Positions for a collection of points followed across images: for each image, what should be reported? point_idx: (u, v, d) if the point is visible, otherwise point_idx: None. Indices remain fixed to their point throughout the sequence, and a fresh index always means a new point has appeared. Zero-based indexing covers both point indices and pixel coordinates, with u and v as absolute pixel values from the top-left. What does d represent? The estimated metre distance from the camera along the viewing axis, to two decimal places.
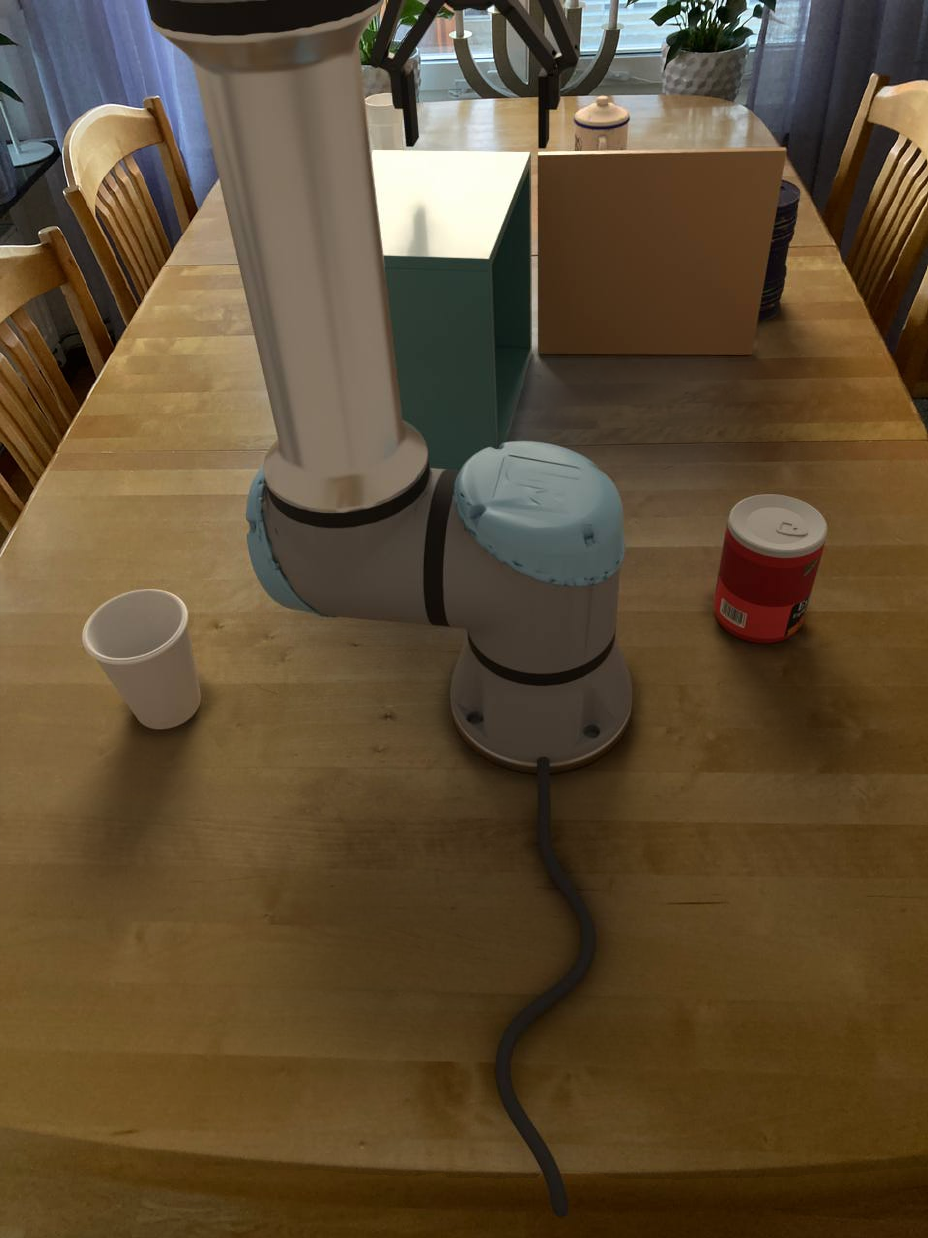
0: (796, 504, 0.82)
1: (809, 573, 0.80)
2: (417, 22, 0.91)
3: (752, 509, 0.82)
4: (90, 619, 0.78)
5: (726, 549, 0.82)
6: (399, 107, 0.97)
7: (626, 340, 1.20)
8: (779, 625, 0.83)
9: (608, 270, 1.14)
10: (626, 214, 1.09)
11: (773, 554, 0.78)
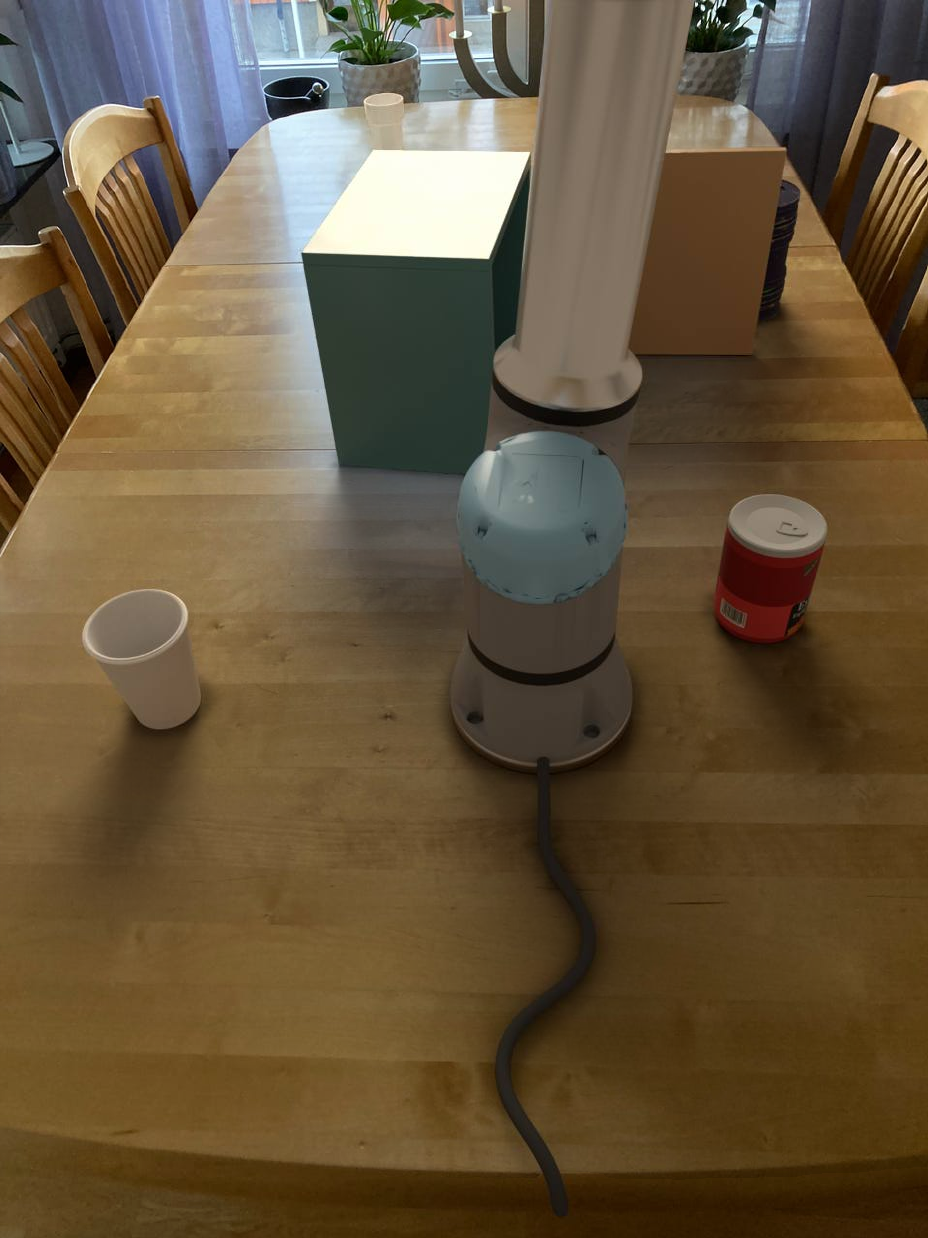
0: (796, 504, 0.82)
1: (809, 573, 0.80)
2: None
3: (752, 509, 0.82)
4: (90, 619, 0.78)
5: (726, 549, 0.82)
6: None
7: None
8: (779, 625, 0.83)
9: None
10: None
11: (773, 554, 0.78)
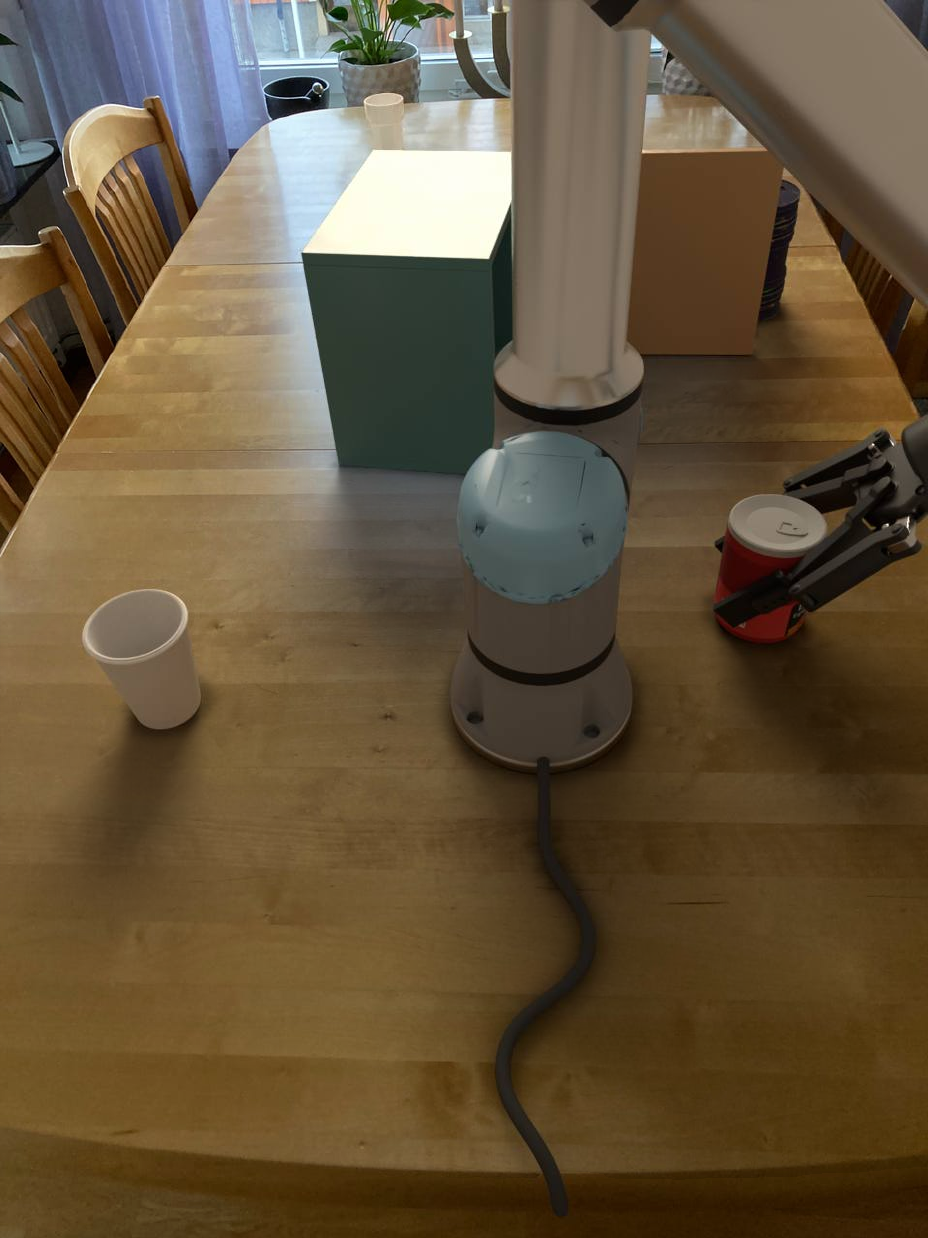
0: (796, 504, 0.82)
1: None
2: (829, 481, 0.81)
3: (752, 509, 0.82)
4: (90, 619, 0.78)
5: (726, 549, 0.82)
6: None
7: None
8: (779, 625, 0.83)
9: None
10: None
11: (773, 554, 0.78)
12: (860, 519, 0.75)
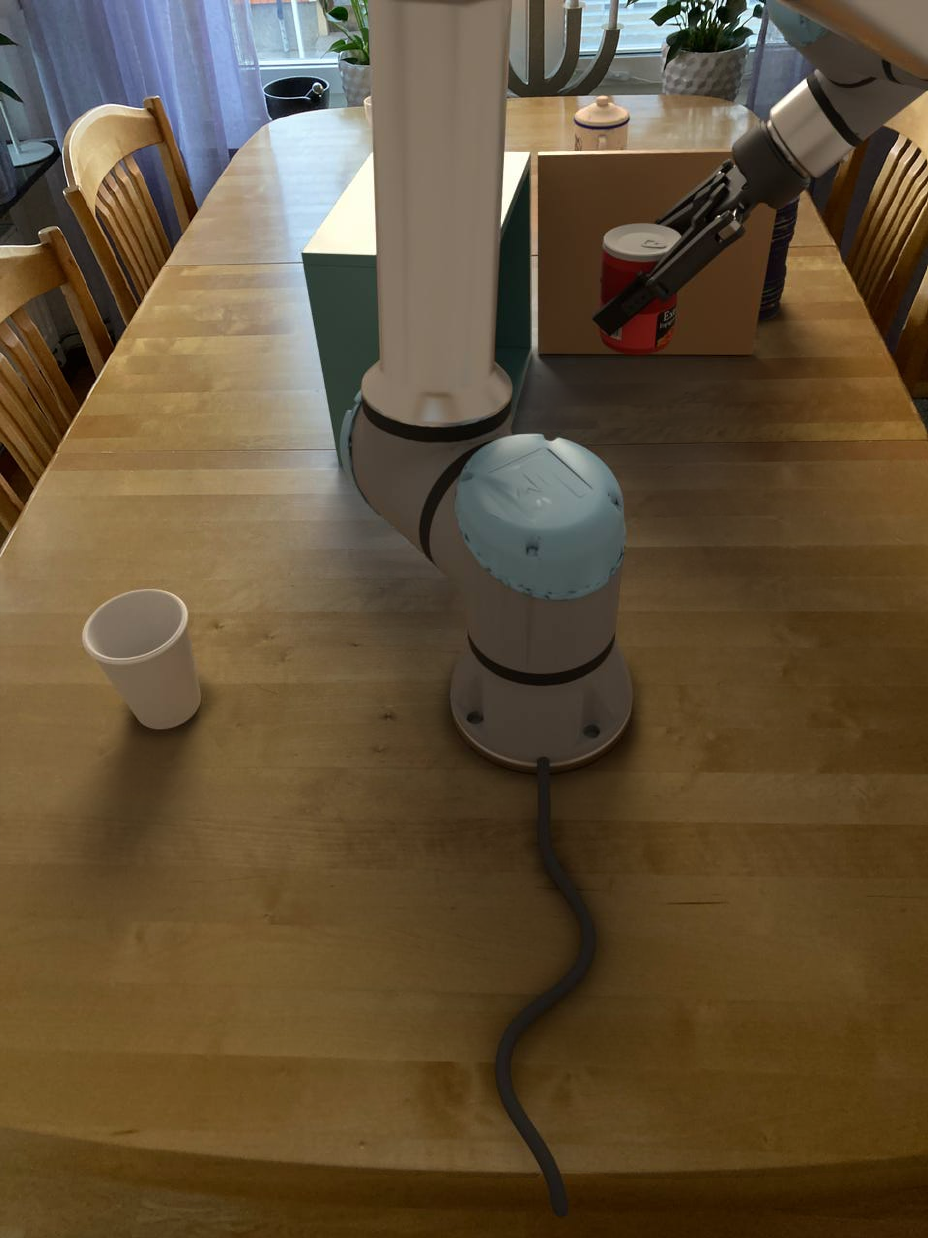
0: (660, 228, 0.98)
1: None
2: (686, 207, 0.97)
3: (624, 233, 0.99)
4: (90, 619, 0.78)
5: (602, 267, 0.99)
6: None
7: None
8: (648, 334, 1.00)
9: None
10: (626, 214, 1.09)
11: (635, 259, 0.95)
12: (701, 220, 0.92)
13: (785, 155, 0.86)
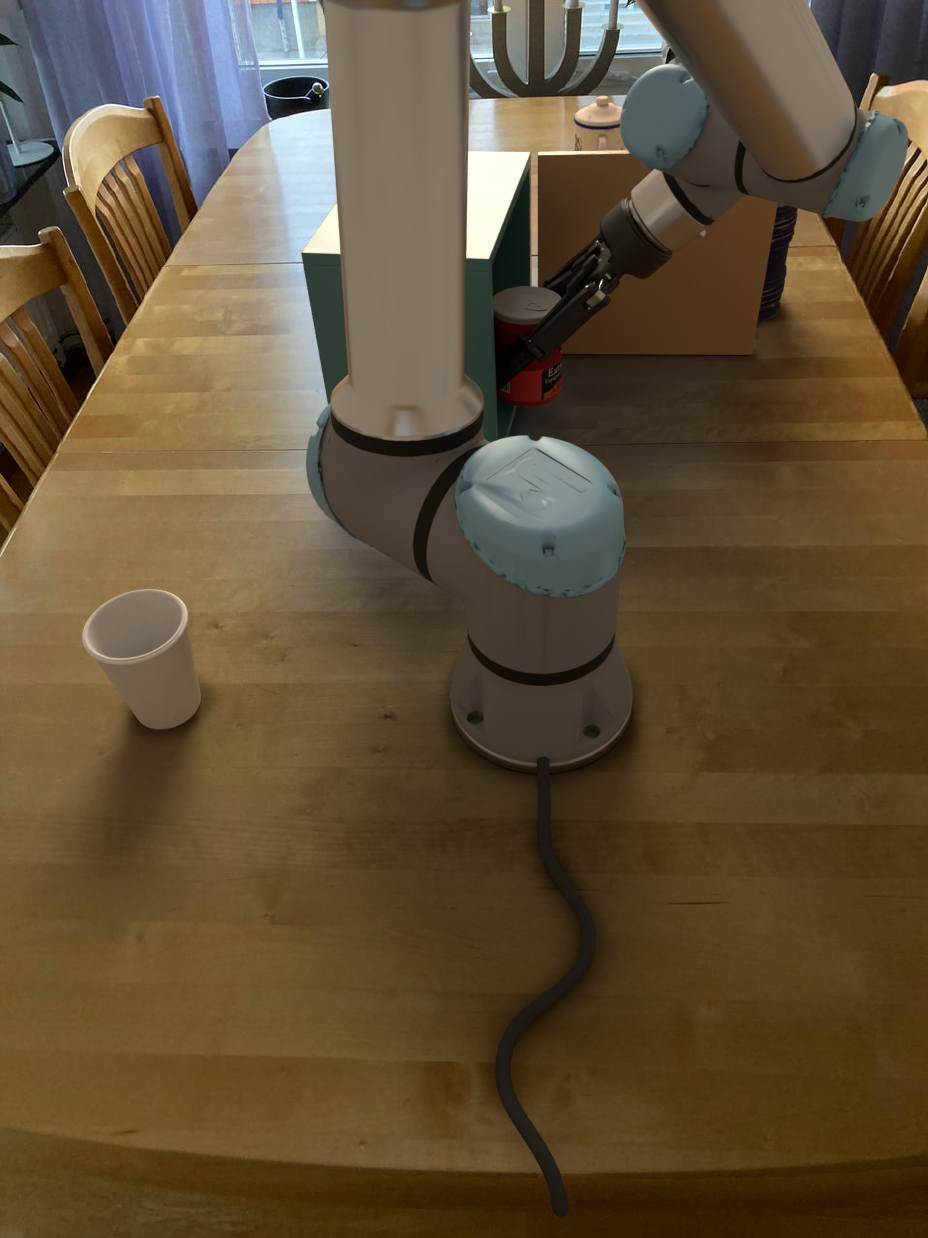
0: (544, 291, 1.06)
1: None
2: (567, 272, 1.05)
3: (510, 295, 1.06)
4: (90, 619, 0.78)
5: None
6: None
7: (626, 340, 1.20)
8: (534, 389, 1.07)
9: None
10: None
11: (517, 322, 1.02)
12: (574, 288, 0.99)
13: (644, 232, 0.93)
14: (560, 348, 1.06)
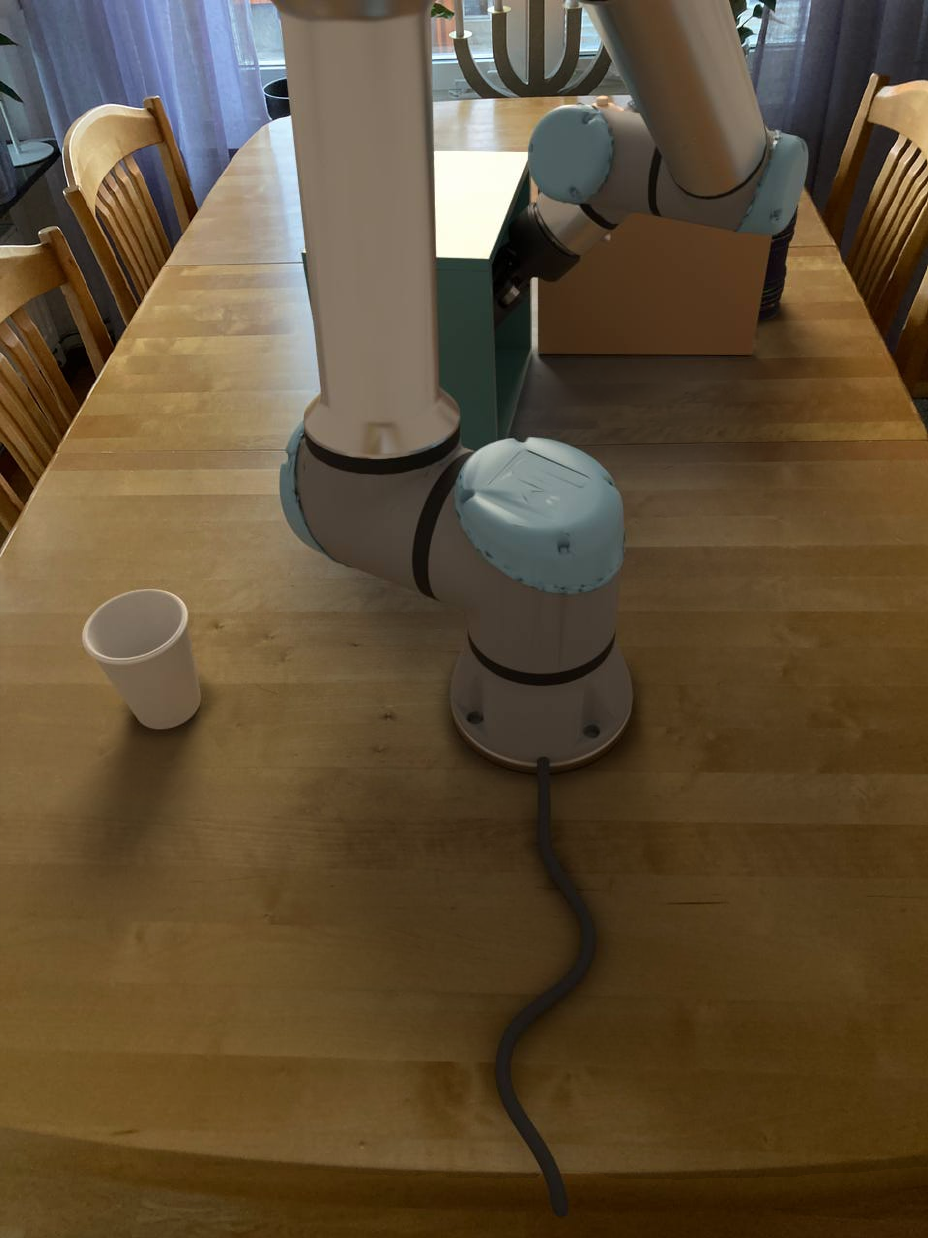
0: None
1: None
2: None
3: None
4: (90, 619, 0.78)
5: None
6: None
7: (626, 340, 1.20)
8: None
9: (608, 270, 1.14)
10: None
11: None
12: None
13: (549, 236, 0.95)
14: None
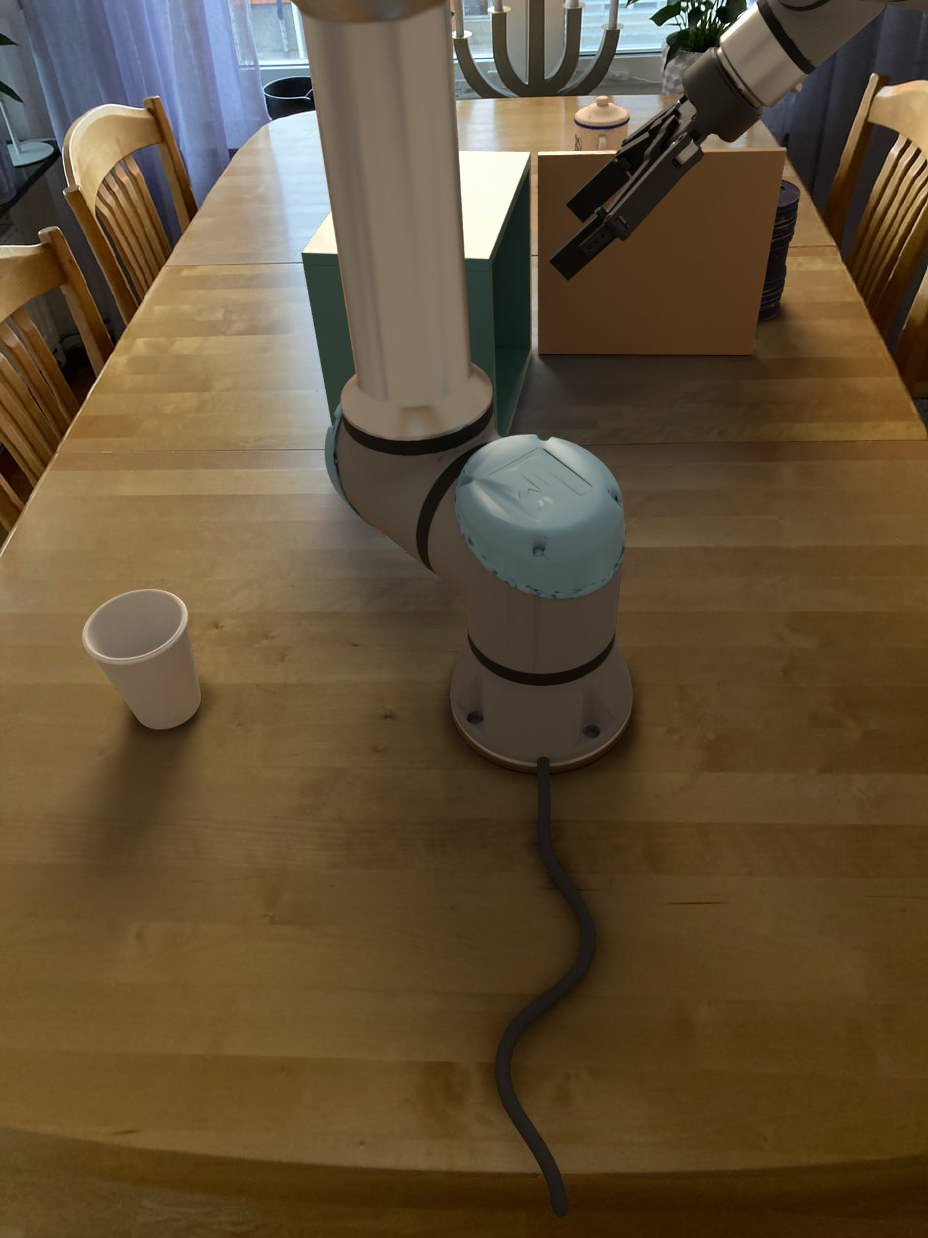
0: None
1: None
2: (646, 132, 0.95)
3: None
4: (90, 619, 0.78)
5: None
6: None
7: (626, 340, 1.20)
8: None
9: (608, 270, 1.14)
10: None
11: None
12: (656, 151, 0.87)
13: (735, 82, 0.83)
14: None
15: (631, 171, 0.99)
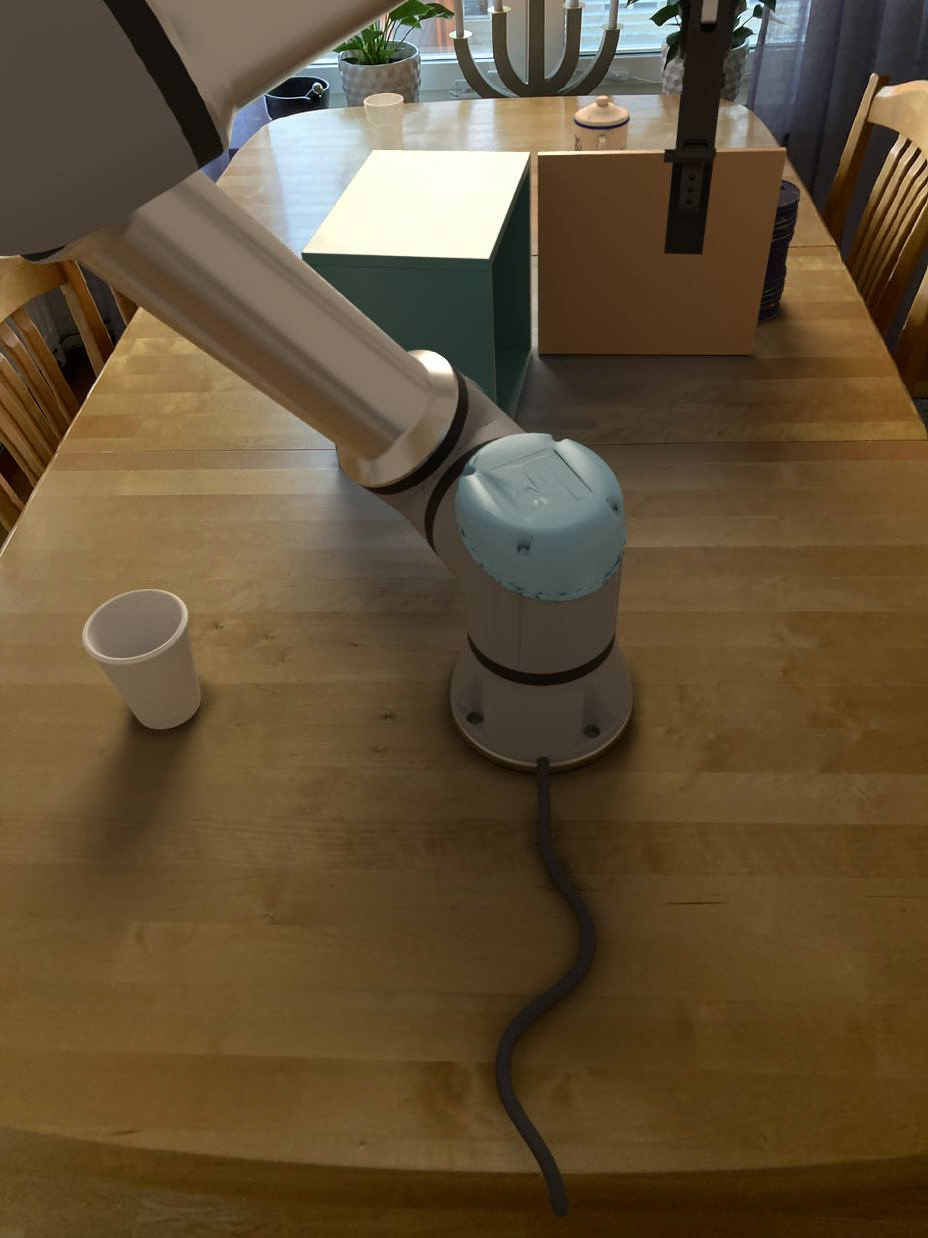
0: None
1: None
2: None
3: None
4: (90, 619, 0.78)
5: None
6: None
7: (626, 340, 1.20)
8: None
9: (608, 270, 1.14)
10: (626, 214, 1.09)
11: None
12: (687, 38, 0.63)
13: None
14: None
15: None
